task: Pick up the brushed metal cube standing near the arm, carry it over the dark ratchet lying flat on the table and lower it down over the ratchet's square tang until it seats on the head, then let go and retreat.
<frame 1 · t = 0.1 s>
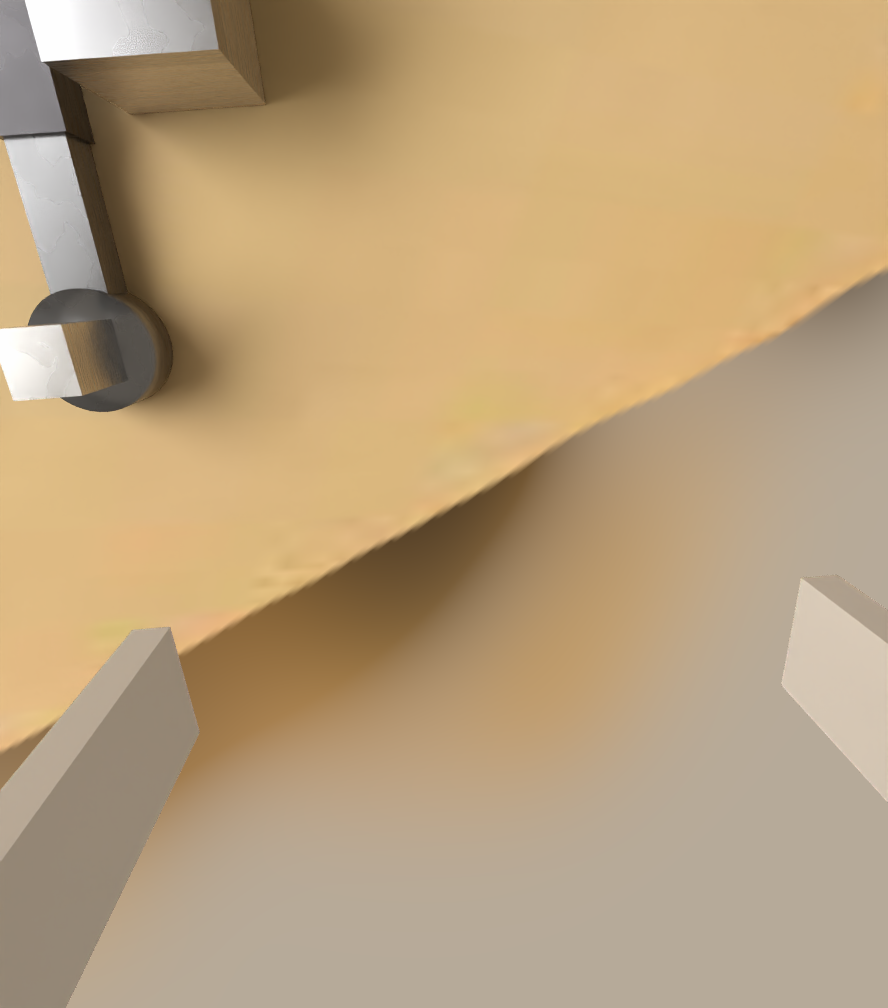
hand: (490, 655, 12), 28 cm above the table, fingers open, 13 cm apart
brushed metal cube: (182, 26, 30), on the table
ratchet: (115, 347, 36), on the table
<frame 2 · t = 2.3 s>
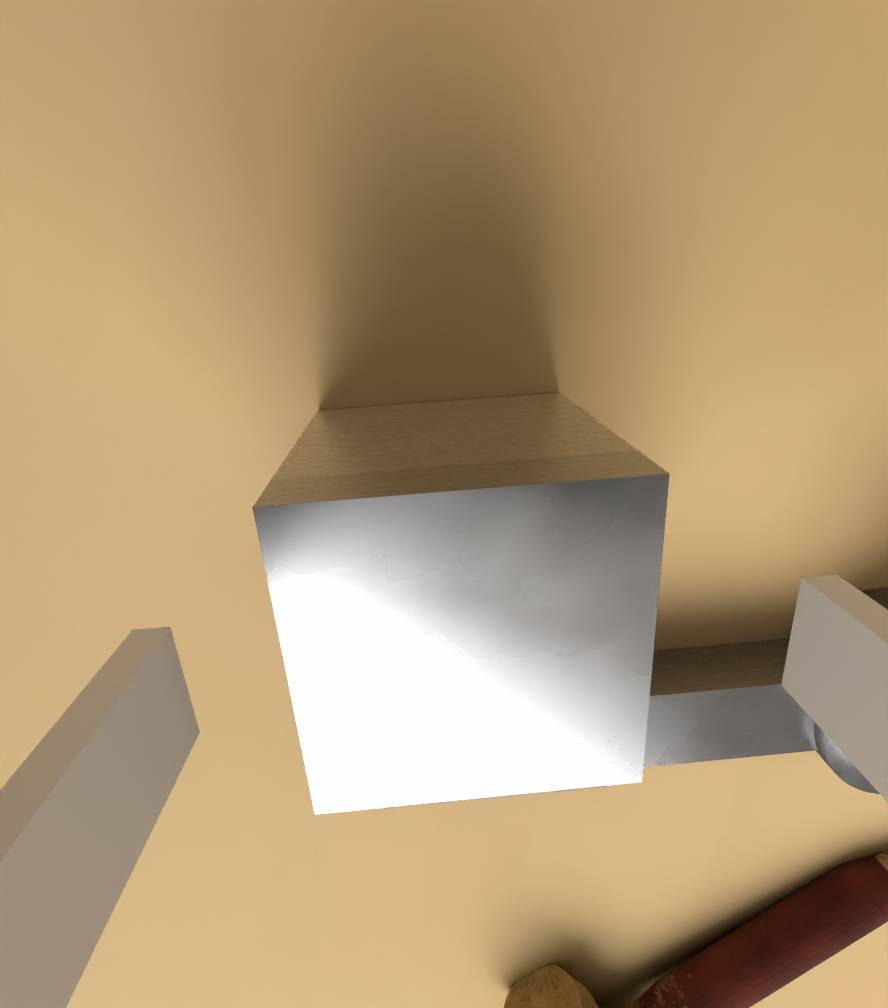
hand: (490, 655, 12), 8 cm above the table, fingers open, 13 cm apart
brushed metal cube: (446, 512, 19), on the table
gavel: (711, 930, 29), on the table
ratchet: (860, 665, 23), on the table
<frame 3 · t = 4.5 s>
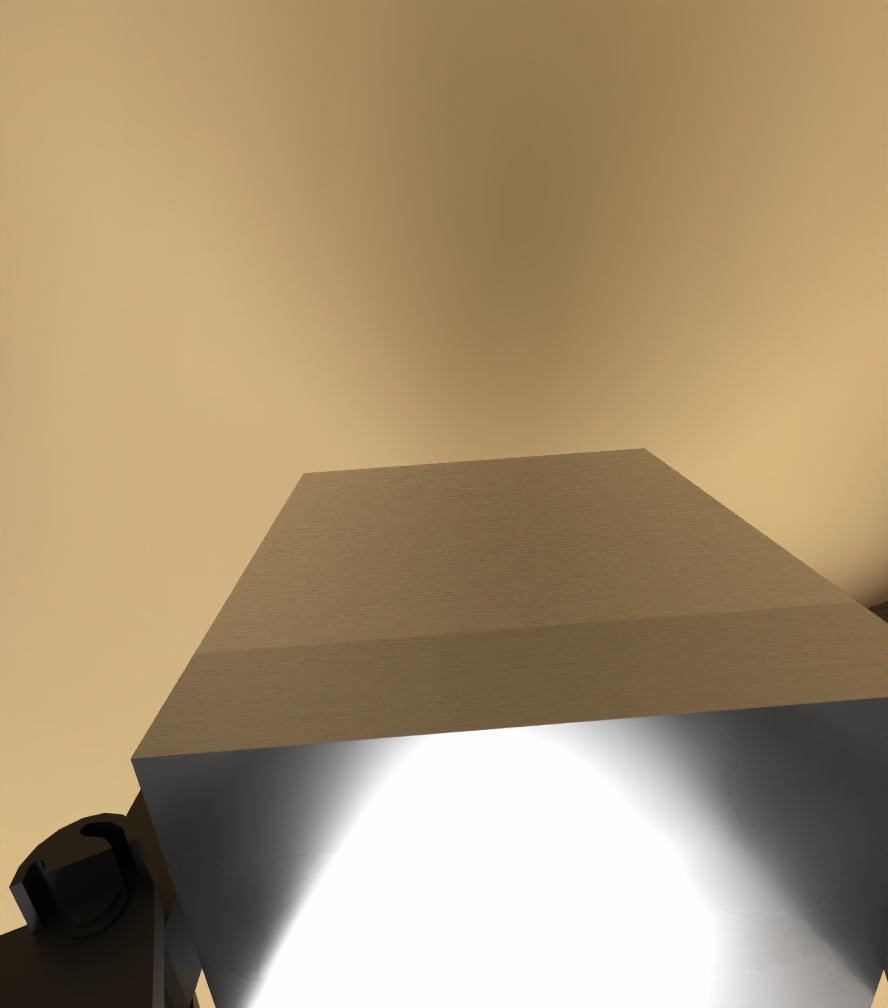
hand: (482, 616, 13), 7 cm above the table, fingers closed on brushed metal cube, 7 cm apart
brushed metal cube: (481, 608, 14), point 7 cm above the table, touching gripper
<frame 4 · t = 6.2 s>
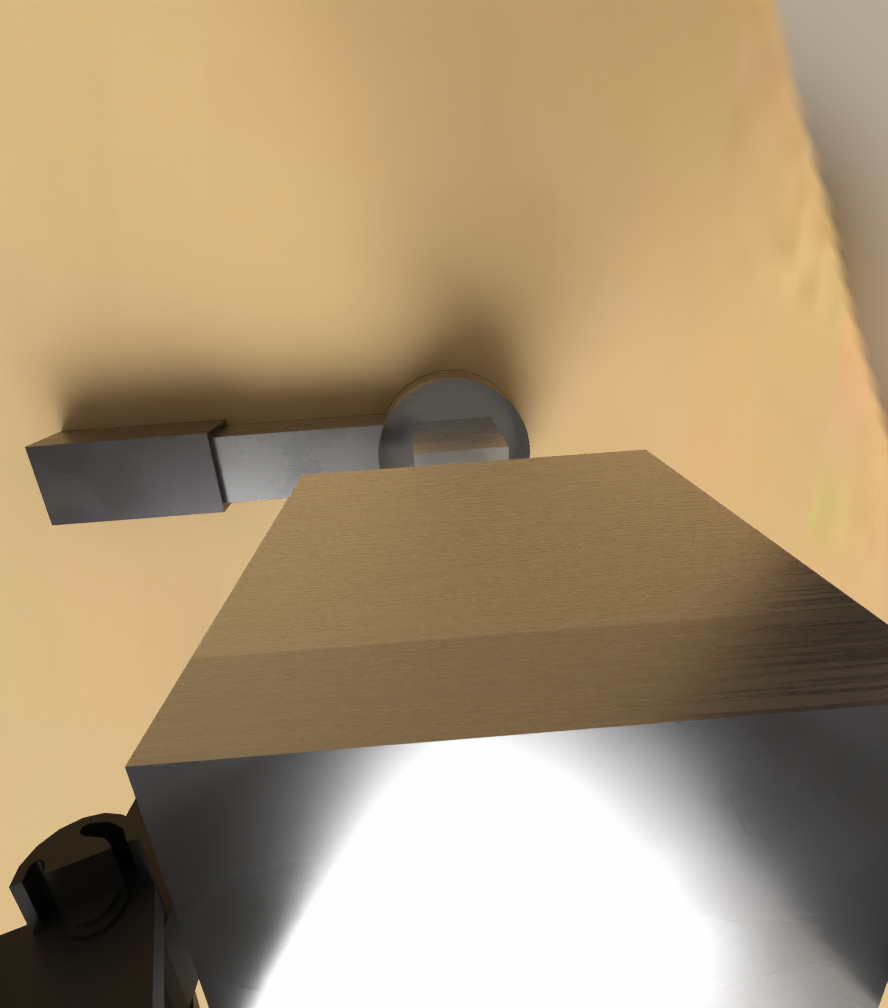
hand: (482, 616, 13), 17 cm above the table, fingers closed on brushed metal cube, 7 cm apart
brushed metal cube: (481, 610, 14), point 16 cm above the table, touching gripper
ratchet: (450, 439, 29), on the table
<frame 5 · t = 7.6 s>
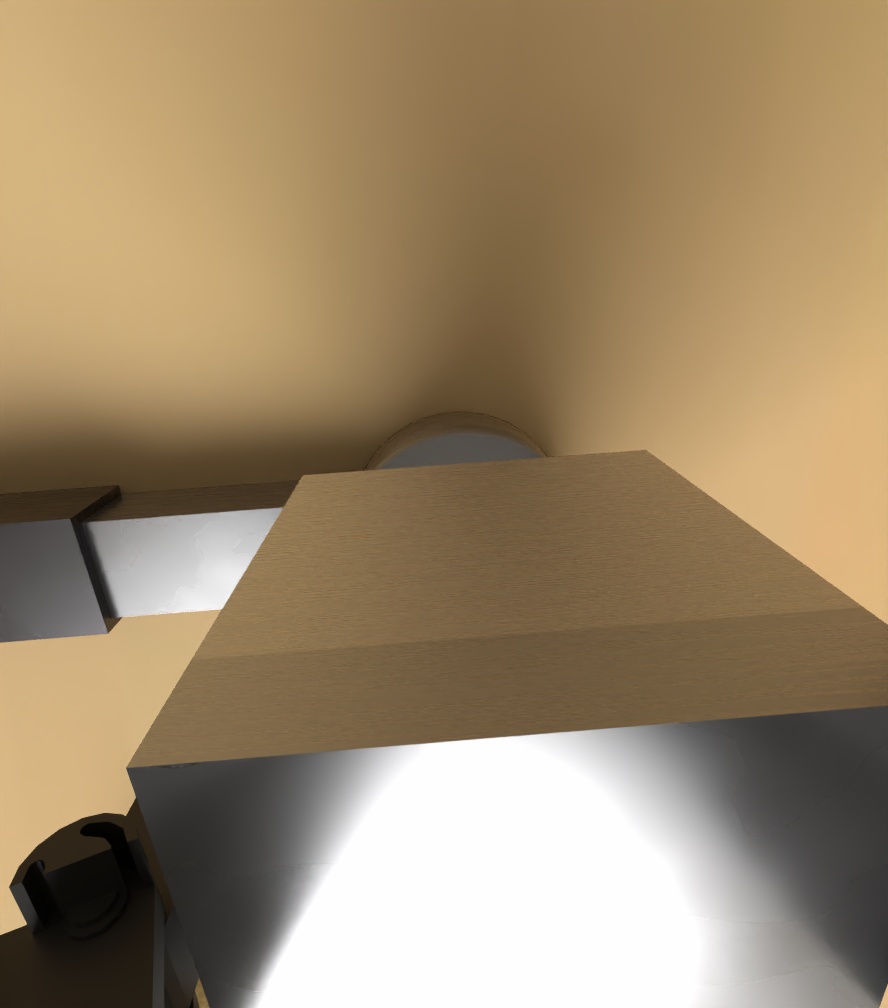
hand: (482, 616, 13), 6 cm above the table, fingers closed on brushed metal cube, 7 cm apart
brushed metal cube: (482, 611, 14), point 6 cm above the table, touching gripper
ratchet: (458, 513, 19), on the table
when the fingers open (4 cm above the table, at t = 8.4 s): brushed metal cube stays where it is, resting on ratchet.
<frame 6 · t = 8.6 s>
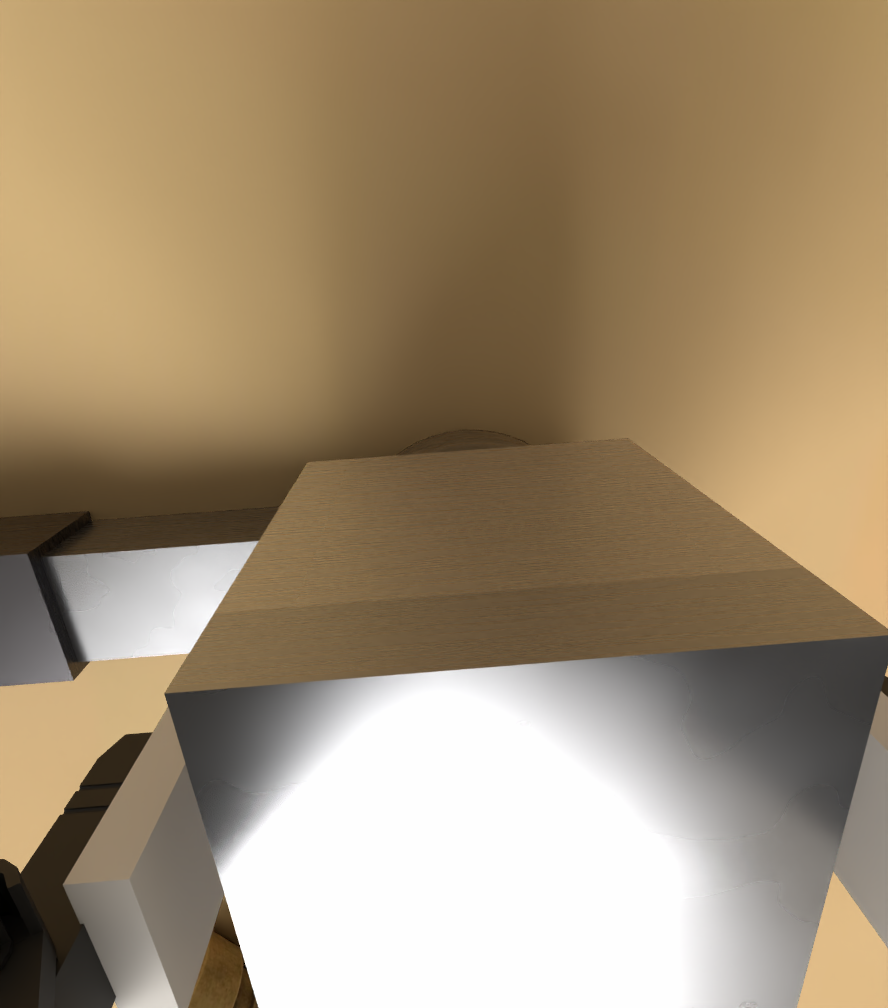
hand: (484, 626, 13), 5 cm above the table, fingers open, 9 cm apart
brushed metal cube: (475, 590, 15), point 3 cm above the table, touching ratchet
gavel: (409, 889, 24), on the table
ratchet: (468, 541, 17), on the table, touching brushed metal cube
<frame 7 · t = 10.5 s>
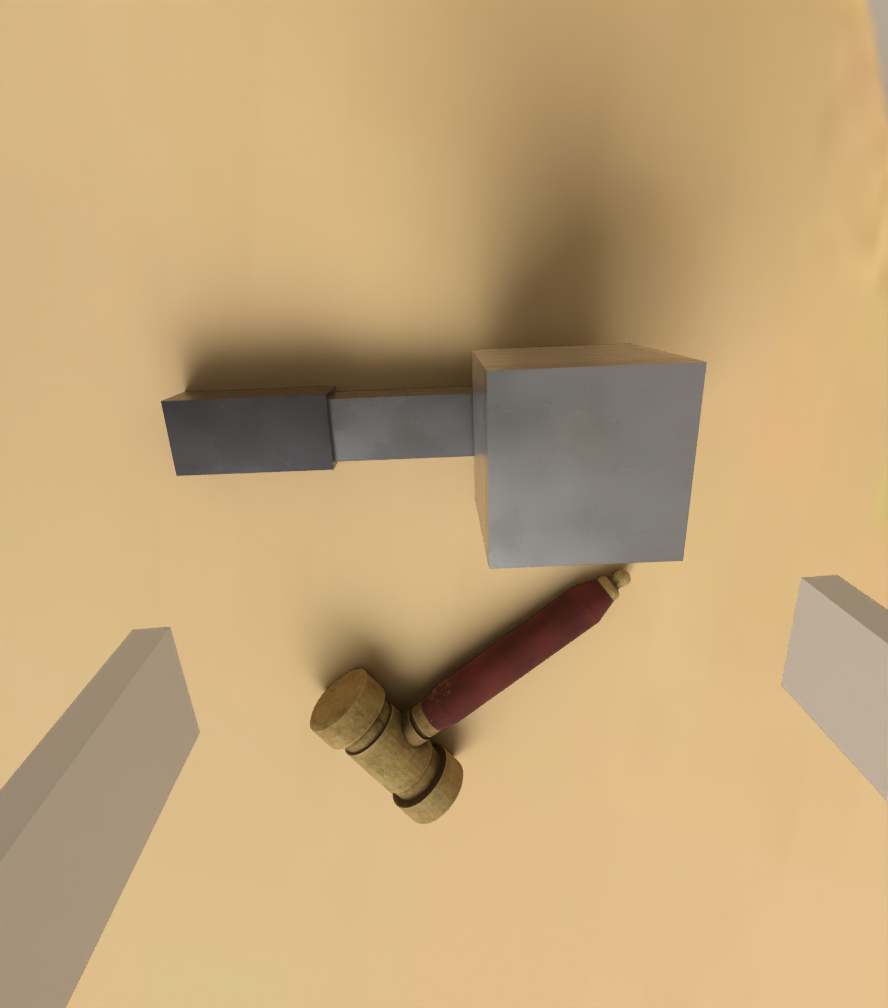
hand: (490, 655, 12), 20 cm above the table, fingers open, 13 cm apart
brushed metal cube: (549, 424, 28), point 3 cm above the table, touching ratchet
gavel: (486, 654, 37), on the table
ratchet: (539, 413, 31), on the table, touching brushed metal cube
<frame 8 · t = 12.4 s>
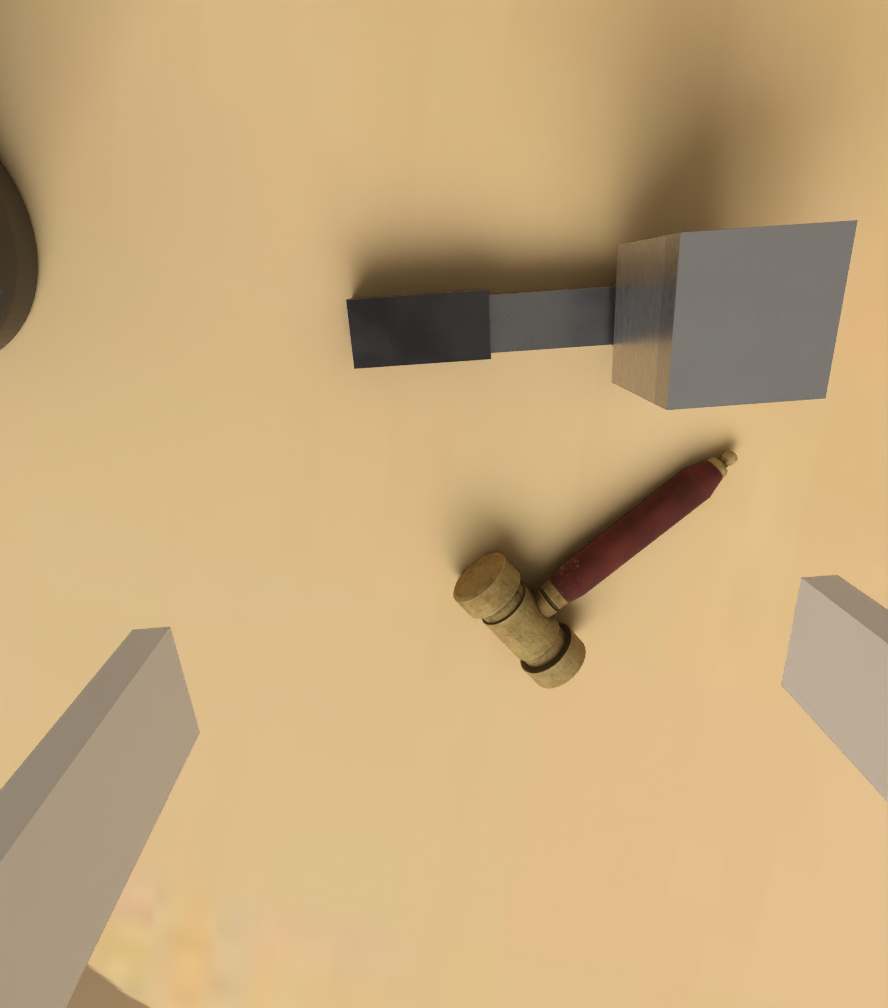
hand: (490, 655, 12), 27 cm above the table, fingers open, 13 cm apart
brushed metal cube: (679, 311, 33), point 3 cm above the table, touching ratchet
gavel: (602, 538, 42), on the table
ratchet: (660, 309, 35), on the table, touching brushed metal cube
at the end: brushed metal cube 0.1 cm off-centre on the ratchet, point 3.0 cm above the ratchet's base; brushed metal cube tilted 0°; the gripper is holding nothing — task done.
